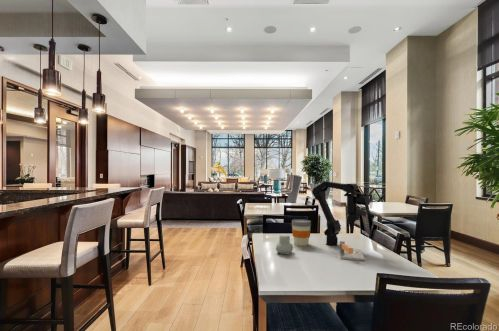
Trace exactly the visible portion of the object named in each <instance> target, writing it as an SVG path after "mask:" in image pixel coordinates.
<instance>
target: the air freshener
mask: <svg viewBox="0 0 499 331" xmlns="http://www.w3.org/2000/svg"><path fill="white" fill-rule="evenodd" d="M290 238H291V236H290V235H289V234H284V233H283V234H280V235H279V242H277V243H276V246H275V251H276V252H277V253H279V254H282V255H289V254H291V253H292V252H293V248H294V246H293V243H291V239H290Z"/></svg>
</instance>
